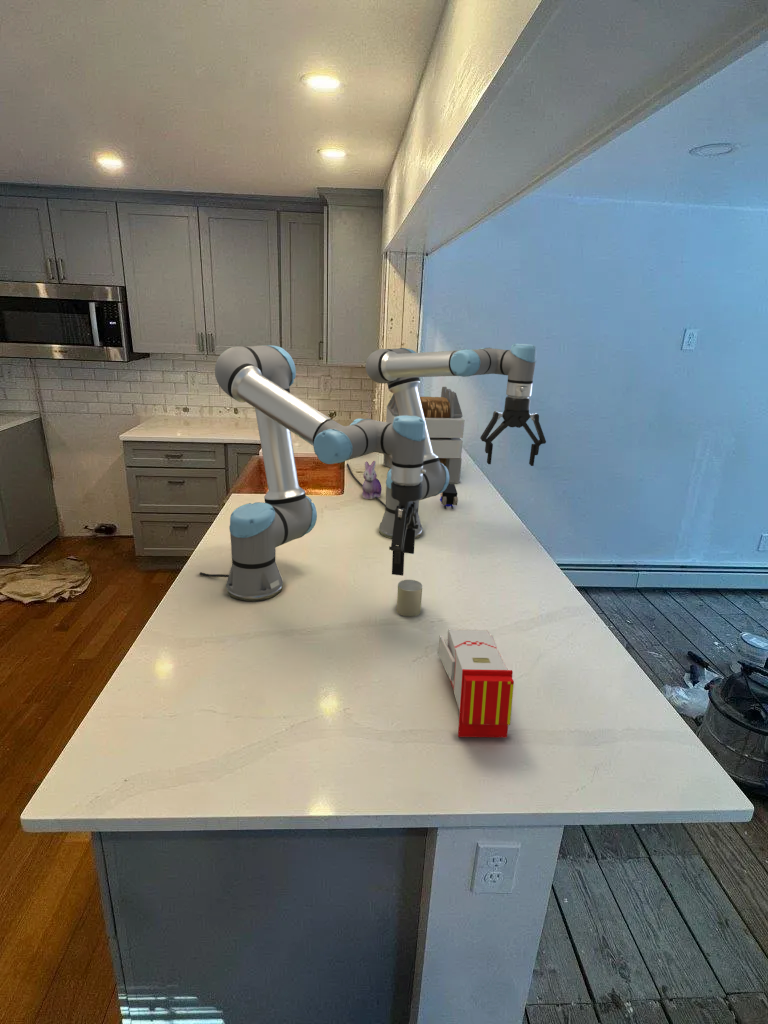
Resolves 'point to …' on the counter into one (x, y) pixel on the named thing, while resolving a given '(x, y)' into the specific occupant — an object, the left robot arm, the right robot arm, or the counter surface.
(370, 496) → the figurine
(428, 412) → the grey slatted crate
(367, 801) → the counter surface
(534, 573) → the counter surface
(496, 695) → the toy
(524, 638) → the counter surface
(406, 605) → the tin
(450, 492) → the figurine character
